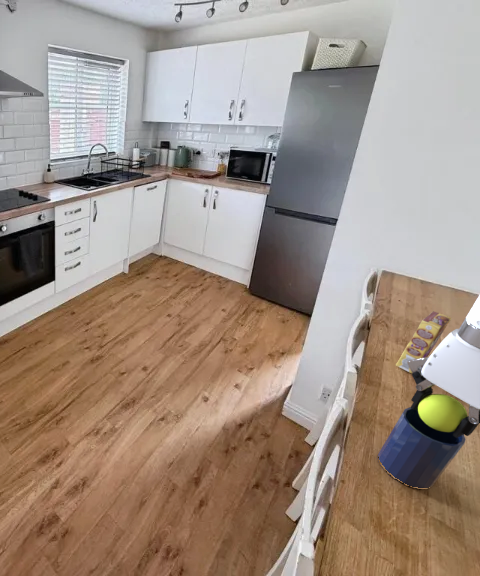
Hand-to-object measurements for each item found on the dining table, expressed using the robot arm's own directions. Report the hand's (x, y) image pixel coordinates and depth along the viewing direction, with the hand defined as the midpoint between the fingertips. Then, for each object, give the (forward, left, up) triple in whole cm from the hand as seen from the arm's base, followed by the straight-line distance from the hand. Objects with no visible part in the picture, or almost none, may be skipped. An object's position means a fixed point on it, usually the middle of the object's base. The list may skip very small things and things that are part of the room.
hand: (437, 419), depth 66 cm
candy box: (+20, -37, -14) cm, 44 cm away
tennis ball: (0, 0, -1) cm, 1 cm away
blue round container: (0, 0, -13) cm, 13 cm away
